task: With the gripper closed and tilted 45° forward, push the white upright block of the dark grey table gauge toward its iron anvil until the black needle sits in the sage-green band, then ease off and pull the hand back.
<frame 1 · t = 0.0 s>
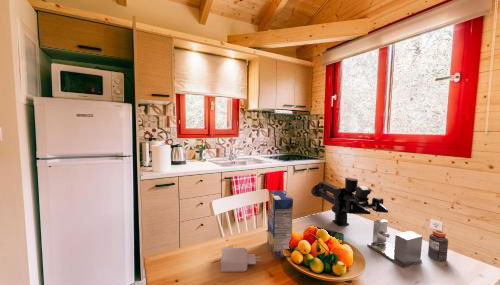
hand: (379, 212, 95), 17 cm above the table, tool horizontal, fingers open, 9 cm apart
charger: (241, 265, 83), on the table
white upright block: (381, 233, 96), point 7 cm above the table, slide at 0.0 cm
juice carton: (278, 249, 95), on the table
digital multimeter: (327, 238, 106), on the table
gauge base: (392, 253, 93), on the table
pill bottle: (436, 258, 91), on the table
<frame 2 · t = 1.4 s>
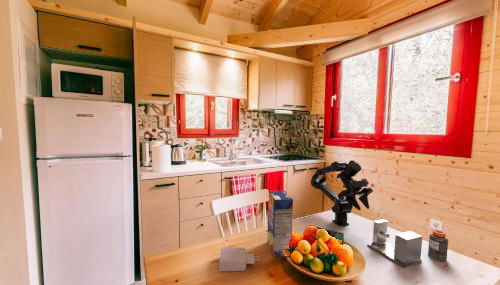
hand: (364, 209, 106), 14 cm above the table, tool tilted 45°, fingers open, 5 cm apart
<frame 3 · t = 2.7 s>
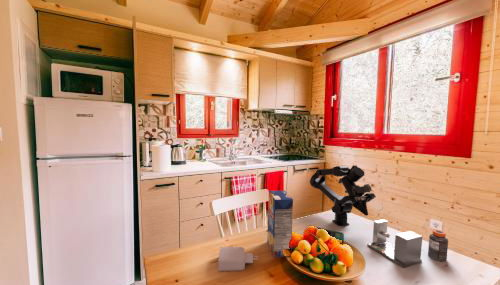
hand: (367, 215, 105), 11 cm above the table, tool tilted 45°, fingers closed
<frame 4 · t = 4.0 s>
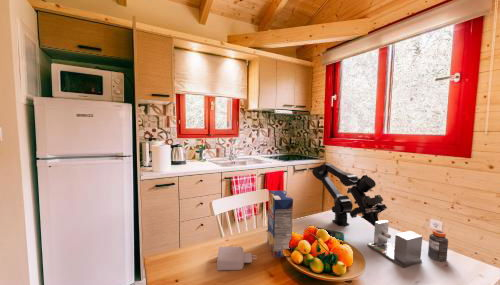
hand: (378, 228, 99), 8 cm above the table, tool tilted 45°, fingers closed, pressing on white upright block
white upright block: (382, 234, 96), point 7 cm above the table, slide at 0.6 cm, touching gripper
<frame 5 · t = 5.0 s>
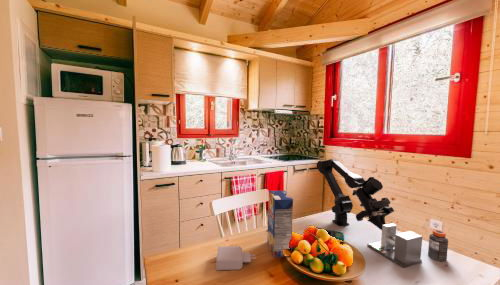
hand: (386, 232, 96), 8 cm above the table, tool tilted 45°, fingers closed, pressing on white upright block
white upright block: (390, 238, 93), point 7 cm above the table, slide at 4.1 cm, touching gripper
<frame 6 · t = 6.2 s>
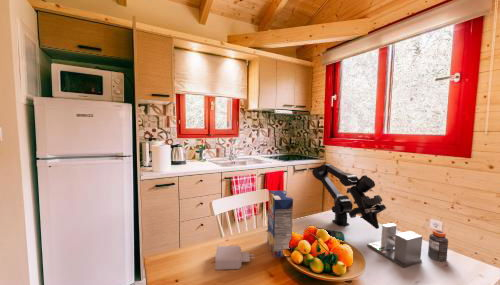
hand: (377, 228, 99), 8 cm above the table, tool tilted 45°, fingers closed
white upright block: (390, 238, 93), point 7 cm above the table, slide at 4.1 cm
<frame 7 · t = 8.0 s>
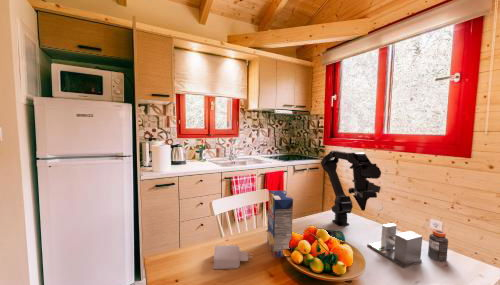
hand: (363, 210, 105), 13 cm above the table, tool pointing down, fingers closed
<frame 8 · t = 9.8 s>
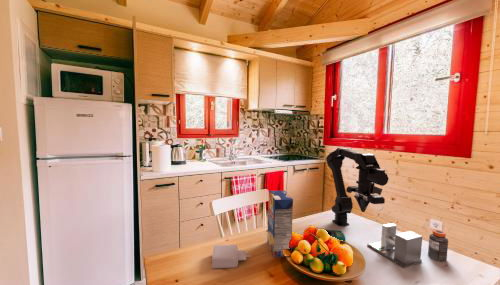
hand: (363, 211, 104), 13 cm above the table, tool pointing down, fingers closed
at the end: white upright block slide at 4.1 cm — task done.
